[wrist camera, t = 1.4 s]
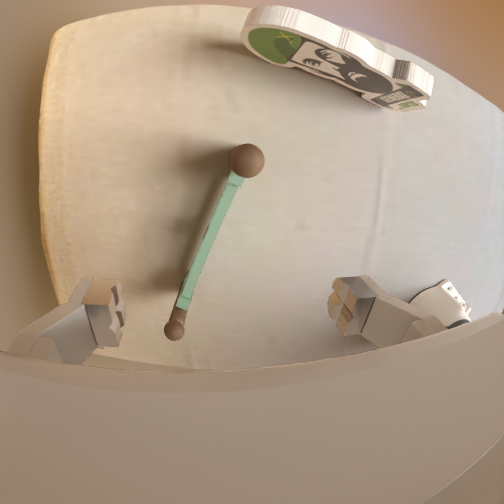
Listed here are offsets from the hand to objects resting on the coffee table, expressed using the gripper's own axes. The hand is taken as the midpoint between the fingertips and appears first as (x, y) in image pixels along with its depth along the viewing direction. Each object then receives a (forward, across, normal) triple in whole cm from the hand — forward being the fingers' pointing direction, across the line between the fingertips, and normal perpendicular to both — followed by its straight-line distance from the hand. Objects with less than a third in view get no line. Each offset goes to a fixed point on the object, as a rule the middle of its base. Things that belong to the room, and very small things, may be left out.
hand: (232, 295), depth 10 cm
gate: (+29, +1, -9) cm, 31 cm away
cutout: (+30, +16, +16) cm, 38 cm away
